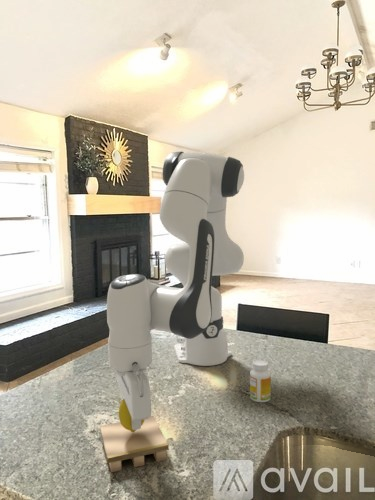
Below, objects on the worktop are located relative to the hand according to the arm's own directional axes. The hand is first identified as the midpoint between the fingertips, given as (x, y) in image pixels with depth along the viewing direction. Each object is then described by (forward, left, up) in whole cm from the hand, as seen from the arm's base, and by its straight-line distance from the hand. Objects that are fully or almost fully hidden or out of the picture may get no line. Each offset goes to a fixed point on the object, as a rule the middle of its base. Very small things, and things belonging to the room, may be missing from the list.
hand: (132, 418), depth 82 cm
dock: (0, 0, -7) cm, 7 cm away
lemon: (+1, 0, -3) cm, 3 cm away
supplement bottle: (-10, +36, -7) cm, 38 cm away
